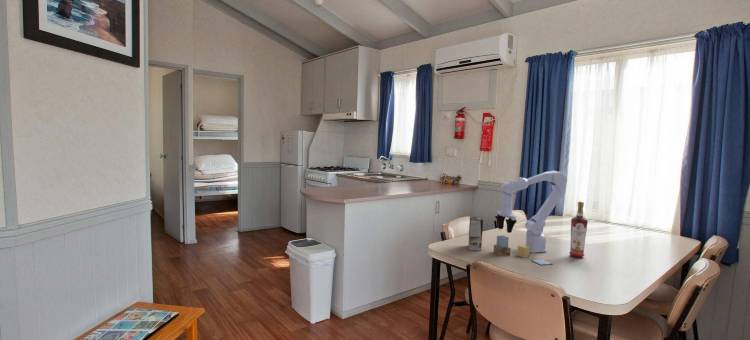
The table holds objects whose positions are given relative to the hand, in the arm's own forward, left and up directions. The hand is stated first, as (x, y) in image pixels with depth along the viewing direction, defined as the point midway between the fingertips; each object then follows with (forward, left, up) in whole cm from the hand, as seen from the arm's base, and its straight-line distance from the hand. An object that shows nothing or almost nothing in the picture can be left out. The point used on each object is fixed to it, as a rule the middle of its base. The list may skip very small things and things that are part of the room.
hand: (504, 230), depth 197 cm
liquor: (-30, +18, -10) cm, 36 cm away
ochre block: (-3, +12, -10) cm, 16 cm away
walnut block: (+6, +7, -10) cm, 14 cm away
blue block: (+6, +7, -6) cm, 11 cm away
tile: (-5, +23, -10) cm, 26 cm away
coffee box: (+15, -4, -10) cm, 19 cm away
